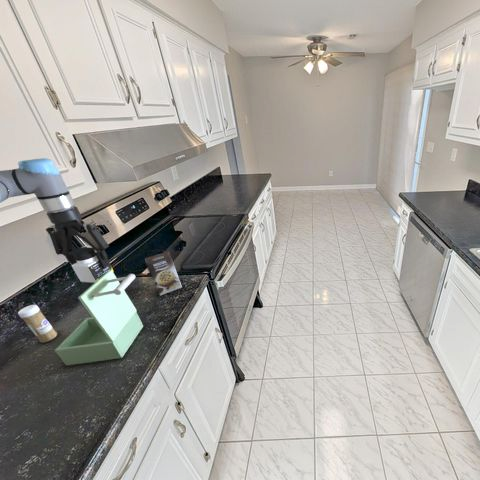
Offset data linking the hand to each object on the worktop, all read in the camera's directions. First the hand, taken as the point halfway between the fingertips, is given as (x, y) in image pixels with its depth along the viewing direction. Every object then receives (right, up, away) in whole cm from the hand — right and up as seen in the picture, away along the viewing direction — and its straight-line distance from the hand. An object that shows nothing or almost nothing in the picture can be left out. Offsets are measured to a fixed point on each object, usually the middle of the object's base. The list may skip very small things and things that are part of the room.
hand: (93, 268), depth 92 cm
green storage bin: (+11, -25, -6) cm, 28 cm away
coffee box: (+16, -11, +20) cm, 28 cm away
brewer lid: (+17, -10, -13) cm, 23 cm away
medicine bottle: (0, -4, +2) cm, 4 cm away
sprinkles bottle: (-14, -25, -2) cm, 29 cm away
